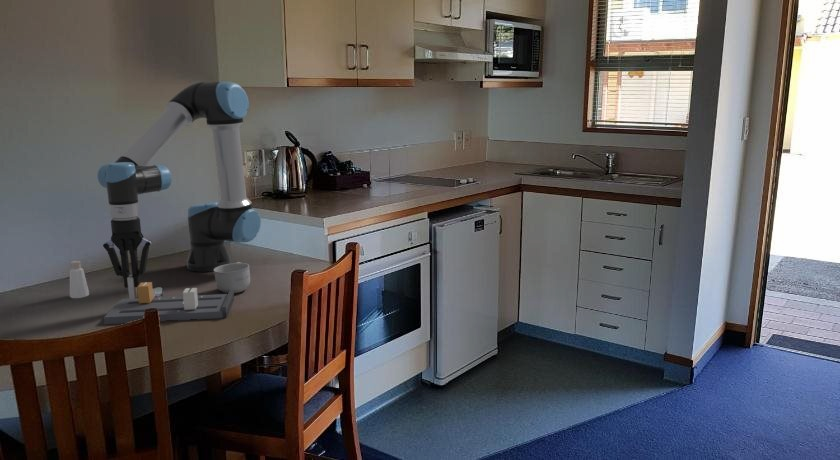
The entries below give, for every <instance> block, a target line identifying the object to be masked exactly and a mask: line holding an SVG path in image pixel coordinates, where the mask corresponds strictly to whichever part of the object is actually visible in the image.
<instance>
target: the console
mask: <svg viewBox="0 0 840 460" xmlns="http://www.w3.org/2000/svg"><path fill="white" fill-rule="evenodd" d="M197 296H198V306H197V308H196V309H192V310H184V301H183V295H181V296H180V295H179V296H163V297H154V298H153V300H152V301H151V302H150V303H139V299H138V298H136V299H133V300H129V298H121V299H120V300H119V302H117V304H115V306H114V307H112V308H111V310H109V311H108V312H107V314H105V315H104V317H103V321H104V323H103V324H104V325H119V324H128V323H127V322H130V321H134V320H138V319H142V318H143V316H144V310H145V309H147V308H158V311H159V317H160V321H159V322H163V321H162V320H178V321H191V320H190V319H197V320H213V319H227V317H228V316H229V313H230V311H231V309H232V306H233V304H234V302H235V293H234V290H230V291H229V293H228V294H227V293H221V294H219V293H218V294H216V293H215V294H197ZM233 301H234V302H233ZM232 303H233V304H232Z"/></svg>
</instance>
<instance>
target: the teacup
mask: <svg viewBox="0 0 840 460" xmlns="http://www.w3.org/2000/svg"><path fill="white" fill-rule="evenodd" d="M250 271H251V270H250V264H249V263H245V262H241V261H237V262H234V263H233V262H231V264H225V265H221V266H218V267H216V268H215V269H214V271H213V272H214V279H215V284H216V287H217V289H218V290H219V291H221V292H222V293H223V294H227V293H229V291H230V290H234V294H238V293H241V292H244V291H245V290H246V289H247V288H248V286H249V285H250V284H251V272H250Z"/></svg>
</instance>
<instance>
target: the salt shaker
mask: <svg viewBox="0 0 840 460" xmlns="http://www.w3.org/2000/svg"><path fill="white" fill-rule="evenodd" d="M81 261H82V260H81ZM81 261H80V260H73V261H70V267H71V269H70V270H69V298H71V299H82V298H87V297H88V296H89V295H90V291H89V287H88V286H89V285H88V282H87V279H86V278H87V277H86V275H85V270H84V268H82V264H81V263H82V262H81Z"/></svg>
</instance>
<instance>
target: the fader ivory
mask: <svg viewBox="0 0 840 460" xmlns="http://www.w3.org/2000/svg"><path fill="white" fill-rule="evenodd" d="M197 295H198V288H197V287H187V288H184V290H183V292H182V296H183V301H184V310H192V309H196V308H197V306H198V296H197Z"/></svg>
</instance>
